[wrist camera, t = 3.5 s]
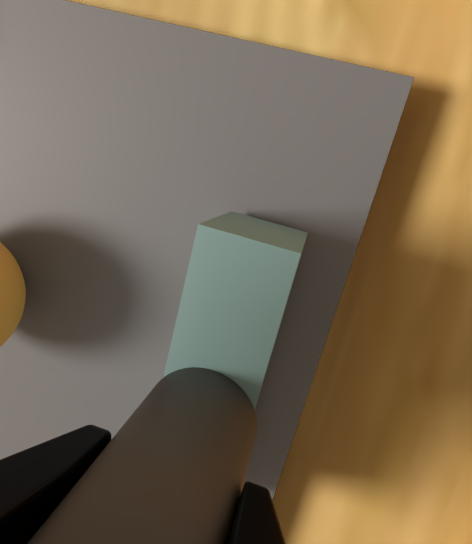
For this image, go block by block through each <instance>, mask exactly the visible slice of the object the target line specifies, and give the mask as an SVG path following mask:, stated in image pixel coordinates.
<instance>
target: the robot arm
mask: <svg viewBox="0 0 472 544" xmlns="http://www.w3.org/2000/svg"><path fill="white" fill-rule="evenodd" d="M110 441H111V433H110V431H109V430H106V429H103V428H101V427H98V426H95V425H86V426H83V427H81V428H78V429H76V430H73V431H71V432H68V433H66V434H63V435H61V436H58V437H56V438H53V439H51V440H48V441H46V442H43V443H41V444H38V445H36V446H33V447H31V448H28V449H26V450H23V451H21V452H18V453H16V454H13V455H11V456H8V457H6V458H3V459H0V544H27V543H28V542H29V541H30V539H31V538H32V537H33V536H34V534H35V533H36V532H37V531H38V529H39V528H40V527H41V526H42V525H43V523H44V522H45V521H46V520H47V518H48V517H49V516H50V515H51V513H52V512H53V511H54V510H55V509H56V507H57V506H58V505H59V504H60V502H61V501H62V500H63V499H64V497H65V496H66V495H67V494H68V493H69V491H70V490H71V489H72V488H73V486H74V485H75V484H76V483H77V482H78V480H79V479H80V478H81V477H82V475H83V474H84V473H85V472H86V470H87V469H88V468H89V467H90V466H91V464H92V463H93V462H94V461H95V459H96V458H97V457H98V456H99V454H100V453H101V452H102V451H103V450H104V448H105V447H106V446H107V445H108V443H109V442H110ZM227 544H286V543H285V540H284V537H283V534H282V530H281V527H280V524H279V521H278V517H277V514H276V511H275V508H274V504H273V501H272V498H271V495H270V492H269V490H268V489H267V488H266V487H263V486H260V485H257V484H255V483H252V482H249V481H247V482H245V483H244V485H243V488H242V492H241V495H240V499H239V502H238V506H237V510H236V513H235V517H234V521H233V525H232V528H231V532H230V536H229V540H228V543H227Z"/></svg>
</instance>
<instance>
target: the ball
mask: <svg viewBox="0 0 472 544" xmlns="http://www.w3.org/2000/svg"><path fill="white" fill-rule="evenodd" d="M25 300H26V288H25V282H24V278H23V274H22V271H21V269H20V267H19V265H18V263H17V261H16V259H15V258H14V256H13V255H12V254H11V252H10V251H9V250H8V249H7V248H6V247H5V246H4V245H3V244H2V243H1V242H0V347H1V346H2V345H3V344H4V343H5V342H6V341H7V340H8V339H9V338H10V336H11V335H12V334H13V332H14V331H15V329H16V327H17V325H18V324H19V321H20V319H21V317H22V314H23V311H24V306H25Z"/></svg>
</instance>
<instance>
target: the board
mask: <svg viewBox="0 0 472 544" xmlns="http://www.w3.org/2000/svg"><path fill="white" fill-rule="evenodd" d="M413 80H414V77H410V76H405V75H401V74H396V73H392V72H387V71H383V70H378V69H374V68H369V67H365V66H360V65H356V64H351V63H347V62H342V61H338V60H333V59H328V58H324V57H319V56H315V55H310V54H306V53H301V52H297V51H292V50H288V49H283V48H279V47H274V46H270V45H265V44H261V43H256V42H252V41H247V40H243V39H238V38H233V37H229V36H224V35H220V34H215V33H211V32H206V31H202V30H197V29H193V28H188V27H184V26H179V25H175V24H170V23H166V22H161V21H157V20H152V19H148V18H143V17H138V16H134V15H129V14H125V13H120V12H116V11H111V10H107V9H102V8H98V7H93V6H89V5H84V4H80V3H75V2H71V1H66V0H0V242H1V243H2V244H3V245H4V246H5V247H6V248H7V249H8V250H9V251H10V252H11V254H12V255H13V256H14V258H15V259H16V261H17V263H18V265H19V267H20V269H21V271H22V274H23V278H24V282H25V288H26V300H25V306H24V311H23V314H22V317H21V319H20V321H19V324H18V325H17V327H16V329H15V331H14V332H13V334H12V335H11V336H10V338H9V339H8V340H7V341H6V342H5V343H4V344H3V345H2V346H1V347H0V459H3V458H6V457H8V456H11V455H13V454H16V453H18V452H21V451H23V450H26V449H28V448H31V447H33V446H36V445H38V444H41V443H43V442H46V441H48V440H51V439H53V438H56V437H58V436H61V435H63V434H66V433H68V432H71V431H73V430H76V429H78V428H81V427H83V426H86V425H95V426H98V427H101V428H103V429H106V430H109V431H110V433H111V440H112V438H113V437H114V436H115V435H116V434H117V432H118V431H119V430H120V429H121V427H122V426H123V425H124V424H125V422H126V421H127V420H128V419H129V418H130V416H131V415H132V414H133V413H134V411H135V410H136V409H137V408H138V407H139V405H140V404H141V403H142V402H143V400H144V399H145V398H146V397H147V395H148V394H149V393H150V392H151V391H152V389H153V388H154V387H155V386H156V384H157V383H158V382H159V381H160V380H161V379H162V378H163V376H164V372H165V367H166V363H167V358H168V354H169V350H170V345H171V341H172V336H173V332H174V328H175V323H176V319H177V314H178V310H179V306H180V301H181V297H182V292H183V288H184V284H185V279H186V275H187V270H188V266H189V262H190V257H191V253H192V249H193V244H194V240H195V235H196V231H197V227H198V224H199V223H202V222H205V221H207V220H210V219H213V218H215V217H218V216H221V215H223V214H226V213H228V212H231V211H233V212H237V213H240V214H244V215H247V216H251V217H255V218H258V219H262V220H265V221H269V222H272V223H276V224H279V225H283V226H287V227H290V228H294V229H297V230H301V231H304V232H308V234H307V237H306V241H305V244H304V247H303V251H302V254H301V257H300V261H299V264H298V267H297V271H296V274H295V277H294V281H293V284H292V287H291V291H290V294H289V297H288V301H287V304H286V307H285V311H284V314H283V317H282V321H281V324H280V327H279V330H278V334H277V337H276V340H275V344H274V347H273V350H272V354H271V357H270V360H269V364H268V367H267V370H266V374H265V377H264V380H263V384H262V387H261V390H260V394H259V397H258V400H257V404H256V407H255V413H256V417H257V435H256V440H255V443H254V447H253V451H252V455H251V458H250V462H249V466H248V470H247V473H246V477H245V481H244V483H245V482H247V481H249V482H252V483H255V484H257V485H260V486H263V487H266V488H267V489H268V490H269V492H270V495H271V498H272V500H273V497H274V494H275V491H276V488H277V485H278V482H279V479H280V476H281V473H282V470H283V467H284V464H285V461H286V458H287V455H288V452H289V449H290V446H291V443H292V440H293V437H294V434H295V431H296V428H297V425H298V422H299V419H300V416H301V413H302V410H303V407H304V404H305V401H306V398H307V395H308V392H309V389H310V386H311V383H312V380H313V377H314V374H315V371H316V368H317V365H318V363H319V360H320V357H321V354H322V351H323V348H324V345H325V342H326V339H327V336H328V333H329V330H330V327H331V324H332V321H333V318H334V315H335V312H336V309H337V306H338V303H339V300H340V297H341V294H342V291H343V288H344V285H345V282H346V279H347V276H348V273H349V270H350V267H351V264H352V261H353V258H354V255H355V252H356V249H357V246H358V243H359V240H360V237H361V234H362V231H363V228H364V225H365V223H366V220H367V217H368V214H369V211H370V208H371V205H372V202H373V199H374V196H375V193H376V190H377V187H378V184H379V181H380V178H381V175H382V172H383V169H384V166H385V163H386V160H387V157H388V154H389V151H390V148H391V145H392V142H393V139H394V136H395V133H396V130H397V127H398V124H399V121H400V118H401V115H402V112H403V109H404V106H405V103H406V100H407V97H408V94H409V91H410V88H411V85H412V82H413Z"/></svg>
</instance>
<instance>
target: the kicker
mask: <svg viewBox="0 0 472 544" xmlns="http://www.w3.org/2000/svg"><path fill="white" fill-rule="evenodd" d="M307 234H308V232H304V231H301V230H297V229H294V228H290V227H287V226H283V225H279V224H276V223H272V222H269V221H265V220H262V219H258V218H255V217H251V216H247V215H244V214H240V213H237V212H233V211H231V212H228V213H226V214H223V215H221V216H218V217H215V218H213V219H210V220H207V221H205V222H202V223H199V224H198V227H197V231H196V235H195V240H194V244H193V249H192V253H191V257H190V262H189V266H188V270H187V275H186V279H185V284H184V288H183V292H182V297H181V301H180V306H179V310H178V314H177V319H176V323H175V328H174V332H173V336H172V341H171V345H170V350H169V354H168V358H167V363H166V367H165V372H164V376H163V378H162V379H161V380H160V381H159V382H158V383H157V384H156V386H155V387H154V388H153V389H152V391H151V392H150V393H149V394H148V395H147V397H146V398H145V399H144V400H143V402H142V403H141V404H140V405H139V407H138V408H137V409H136V410H135V411H134V413H133V414H132V415H131V416H130V418H129V419H128V420H127V421H126V422H125V424H124V425H123V426H122V427H121V429H120V430H119V431H118V432H117V434H116V435H115V436H114V437H113V438H112V440H111V441H110V442H109V443H108V445H107V446H106V447H105V448H104V450H103V451H102V452H101V453H100V454H99V456H98V457H97V458H96V459H95V461H94V462H93V463H92V464H91V466H90V467H89V468H88V469H87V470H86V472H85V473H84V474H83V475H82V477H81V478H80V479H79V480H78V482H77V483H76V484H75V485H74V486H73V488H72V489H71V490H70V491H69V493H68V494H67V495H66V496H65V497H64V499H63V500H62V501H61V502H60V504H59V505H58V506H57V507H56V509H55V510H54V511H53V512H52V513H51V515H50V516H49V517H48V518H47V520H46V521H45V522H44V523H43V525H42V526H41V527H40V528H39V529H38V531H37V532H36V533H35V534H34V536H33V537H32V538H31V539H30V541H29V542H28V543H27V544H227V543H228V540H229V536H230V532H231V528H232V525H233V521H234V517H235V513H236V510H237V506H238V502H239V499H240V495H241V492H242V488H243V485H244V481H245V477H246V473H247V470H248V466H249V462H250V458H251V455H252V451H253V447H254V443H255V440H256V435H257V417H256V413H255V407H256V404H257V400H258V397H259V394H260V390H261V387H262V384H263V380H264V377H265V374H266V370H267V367H268V364H269V360H270V357H271V354H272V350H273V347H274V344H275V340H276V337H277V334H278V330H279V327H280V324H281V321H282V317H283V314H284V311H285V307H286V304H287V301H288V297H289V294H290V291H291V287H292V284H293V281H294V277H295V274H296V271H297V267H298V264H299V261H300V257H301V254H302V251H303V247H304V244H305V241H306V237H307Z"/></svg>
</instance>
